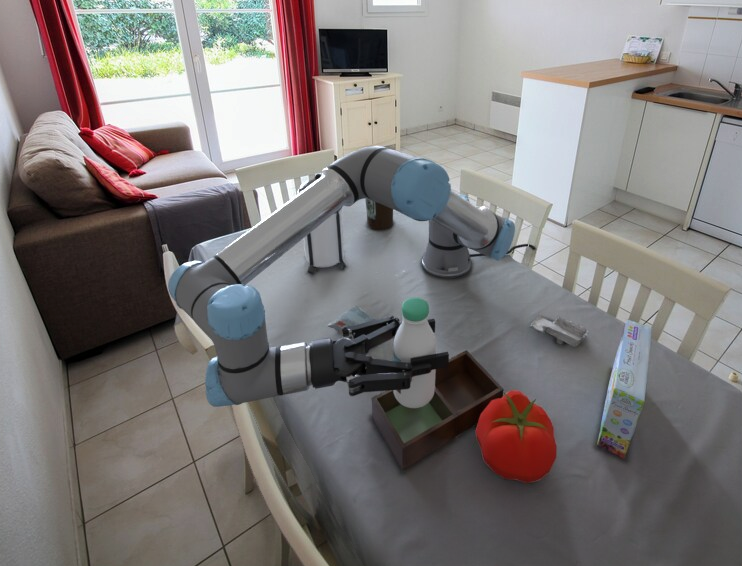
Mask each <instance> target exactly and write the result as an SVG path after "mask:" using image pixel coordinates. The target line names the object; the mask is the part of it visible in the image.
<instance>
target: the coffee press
mask: <svg viewBox="0 0 742 566" xmlns="http://www.w3.org/2000/svg"><path fill="white" fill-rule="evenodd" d="M319 178H321V173H316V174H315V175H314V178H311V179H308V180H306V181H304V182H303V183H302V184H300V186H299V188H298V190H297V192H296V195H298V194H299V193H300V192H302V191H303V190H304V189H306V188H307V187H309V186H310V185H311V184H313V183H314V182H315V181H317V180H318V179H319ZM344 238H345V237H344V222H343V207H341V208H340V209H339V210H338V211H336V212H335V213H334V214H333V215H332V216H330V217H329V218H328V219H327V220H325V221H324V222H323V223H322V224H320V225H319V226H318V227H317V228H315V229H314V230H313V231H312V232H310V233H309V234H308V235H307V236H305V237H304V238H303V239H302V240H303V249H304V256H305V257H304V258H305V261H306V262H307V264H309V265H308V269H307V273H308V274H311V275H313V274H314V273H315V271H316V269H317V268H322V269H323V268H330V267H334V266H336V265H337V267H338V268H339V269H340V270H344V269H345V268H346V266H347V265H346V263H345V261H344V257H345V239H344Z"/></svg>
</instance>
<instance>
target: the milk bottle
mask: <svg viewBox="0 0 742 566" xmlns="http://www.w3.org/2000/svg"><path fill="white" fill-rule="evenodd" d="M429 316H430V306H429V303H428V301H427V300H425V299H424V298H421V297H410V298H407V299H406V300H404V301H403V303H402V305H401V318H402V320H401V321H402V324H401V325H400V327H399V329H398V330H397V333H396V335H395V337H394V338H393V339H394V340H393V344H392V347H393V349H392V361H397V362H405V363H411V358H415V357H421V356H426V355H432V354H437V341H436V337H435V333H433V331H432V329H431V327H430V325H429V323H428V320H429ZM403 371H404V370H403ZM435 371H436V369H435V370H431V372H430V373H428V374H423V375H418V376H414V377H412V381H411V384H410V388H409V389H404V390H393V391H394V396H395V398H396V399H397V401H398V402H399V403H400V404H402V405H403V406H405V407H409V408H419V407H423V406H424V405H426V404H427V403H429V402H430V400H431V399H432V397H433V395H434V391H435Z"/></svg>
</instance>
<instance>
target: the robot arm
mask: <svg viewBox="0 0 742 566" xmlns="http://www.w3.org/2000/svg"><path fill="white" fill-rule="evenodd" d="M320 174H321V178H319V179H318V180H317V181H315V182H314V183H313V184H311V185H310V186H309V187H307V188H306V189H304V190H303V191H302V192H300V193H299V194H298V195H297V194H296V195H295V196H293V197H291V199H290V200H288V201H287V202H285V203H284V204H282V205H281V206H280V207H278V208H277V209H276V210H274V211H273V212H272V213H270V214H269V215H267V216H266V217H264V218H263V219H262V220H261V221H259V222H258V223H256V225H254V226H252V227H251V228H250V229H248V230H247V231H246V232H245V233H243V234H242V235H240V236H239V237H238V238H236V239H235V240H234V241H233V242H231V243H230V244H228V245H226V246H225V247H224V248H223V249H221V250H220V251H219V252H217V253H216V254H214V255H213V256H212V257H209V259H208V260H206V261H205V262H204V261H200V260H192V261H187V262H184V263H183V264H181V265H179V266H178V267H177V268H175V270H174V271H173V272H172V273H171V274H170V277H169V278H168V279H169V280H168V283H167V288H168V289H167V290H168V293H169V295H170V297H171V298H172V299H173V300H174V302H175V304H176V306H177V307H178V308H179V309H181V310H183V312H184V313H185V314H186V315H188V317H189V318H191V320H192V321H193V322H194V323H195V325H196V326H197V327H198V328H199V329H200V330H201V331H202V332H203V333H204V334H205V335H206V336H207V337H208V338H209V339H210V340H211V342H212V343H213V346H214V351H215V354H216V356H214V357H212V358H211V359H210V360H209V361H208V363H207V365H206V370H205V376H204V377H205V378H204V385H205V396H206V400H207V402H208V404H209V405H210V406H212V407H214V408H218V407H227V406H239V405H242V404H246V403H249V402H255V401H260V400H265V399H269V398H275V397H280V396H285V395H292V394H296V393H300V392H301V393H302V392H306V391H309V390H310V386H312V388H313V389H315V390H317V389H322V388H328V387H333V386H334V385H335V384H336V383H337V382H344V383H346V385H347V387H348V395H349V396H350V397H355V396H357V395H360V394H363V393H372V392H374V393H375V392H384V391H389V390H404V389H409V388H410V384H411V381H412V377H414V376H418V375H423V374H428V373H430V372H431V370H435V369H440V368H445V367H448V365H449V359H450V354H449V352H448V351H442V352H438V353H437V352H436V354H432V355H426V356H421V357H415V358H411V363H405V362H397V361H393V360H389V359H381V358H373V357H372V356H371V355H367V354H369V352H370V351H371V350H372V349H375V348H376V347H378V346H380V345H383V344H384V343H386V342H389V341H390V340H392V339H394V338H395V335H396V333H397V330H398V329H399V327H400V325H401V324H402V322H400V318H398V317H395V316H394V315H386V316H383V317H379V318H374V319H375V320H372V321H368V322H364V323H361V324H357V325H345V326H343V327H342V334H341V337H340V338H338V339H337V340H333V339H332V338H330V337H325V338H319V339H314V340H311V341H310V342H309V344H308V343H307V341H300V342H295V343H290V344H284V345H277V346H271V347H270V345H269V338H268V332H267V330H268V329H267V323H266V309H265V307H264V304H263V300H262V297H261V294H260V291H258V289H257V288H256V287H254V286H252V285H247V284H248V283H249V282H251V281H252V280H253V279H254V278H256V277H257V276H259V275H260V274H261V273H262V272H263V271H265V270H266V269H267V268H268V267H270V266H271V265H272V264H273V263H274V262H276V261H277V260H278V259H280V258H281V257H282V256H284V254H286V253H287V252H289V250H291V249H292V248H293V247H294V246H296V245H297V244H298V243H300V242H301V241H302V240H303V238H304V237H305V236H307V235H308V234H309V233H310V232H312V231H313V230H314V229H315V228H317V227H318V226H319V225H320V224H322V223H323V222H324V221H325V220H327V219H328V218H329V217H330V216H332V215H333V214H334V213H335V212H336V211H338V210H339V209H340V208H341V207H342V208H343V207H351V206H353V205H355V203H357V202H358V201H360V200H363V199H365V198H368V199H371V200H373V201H375V202H377V203H380V204H382V205H384V206H387V207H389V208H391V209H393V211H396V212H398V213H400V214H402V215H404V216H406V217H408V218H410V219H412V220H414V221H417V222H428V242H427V245H426V248H425V250H424V253H423V255H422V259H421V261H422V262H421V263H422V264H421V265H422V267H423V269H424V270H425V271H426V272H427V273H428V274H430V275H431V276H434V277H437V278H442V279H454V278H459V277H462V276H464V275H466V274H467V273H468V272H469V271H470V269H471V267H472V258H477V257H488V258H489V259H492V260H496V261H500V260H502V259H503V258H504V257H506V255H509V254H511V253H512V252H513V251H514V250H515V249H520V248H531V249H532V250H536V247H535V246H534V245H533V244H531V243H523V244H517V245H514V246H512V244H513V241H514V238H515V233H516V225H515V222H514V221H513V220H511V219H509V218H507V217H503V216H500V215H498V214H496V213H495V212H494V211H492V210H491V209H489V208H488V207H486V206H482V205H481V206H480V205H479V206H478V205H477V206H476V205H474V204H473V203H471V201H470V198H469V197H468V196H467V195H465V194H462V193H457V192H455V191H454V190H453V189H452V187H451V186H452V185H451V183H450V176H449V174H448V172H447V170H445V168H444V167H443V166H442V165H440V164H438V163H436V162H435V161H433V160H430V159H428V158H423V157H419V156H415V155H413V154H408V153H405V152H402V151H399V150H395V149H392V148H390V147H387V146H381V145H372V146H365V147H363V148H359V149H357V150H354V151H352V152H349V153H347V154H345V155H343V156H342V157H340V158H338V159H336V160H335V161H334V162H332V163H330V164H328V166H326V167H325V168H323V169H322V170H321V172H320ZM528 244H529V247H527V246H528ZM511 246H512V247H511ZM469 249H470V250H471V251H474V252H476V253H470V250H469ZM427 320H428V323H429V325H430V327H431V329H432V331H433V333H434V334H435V333H436V319H435V318H430V319H429V318H428V319H427ZM403 370H404V371H403Z"/></svg>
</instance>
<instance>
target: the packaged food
mask: <svg viewBox="0 0 742 566" xmlns="http://www.w3.org/2000/svg"><path fill="white" fill-rule="evenodd" d="M375 319H376V318H375V317H373V316H370V314H369V313H368V314H367V313H366V312H365V311H364V310H362V309H361V308H360V307H359V306H357V305H356V306H354V307H352V308H351V309H348V310H347V311H346V312H344V313H343V314H341V316H339V317H338V318H336V319H335V320H334V321H331V322H329V323H327V325H326V326H327V327H328V328H330V329H333V330H334V331H336V332H338V333H340V334H341V335H342V327H343V326H345V325H357V324H361V323H364V322H368V321H372V320H375Z"/></svg>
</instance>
